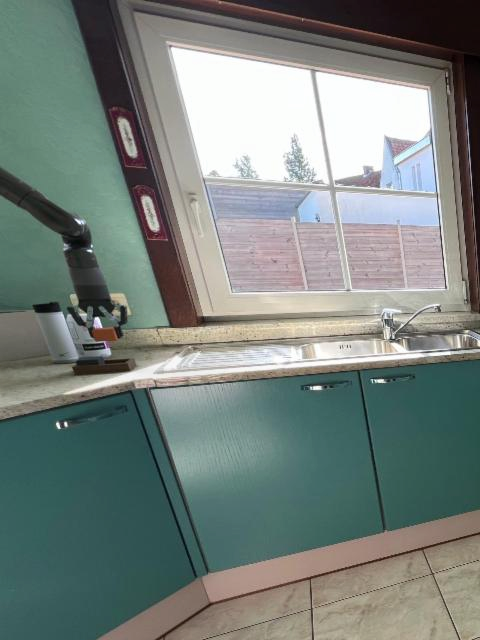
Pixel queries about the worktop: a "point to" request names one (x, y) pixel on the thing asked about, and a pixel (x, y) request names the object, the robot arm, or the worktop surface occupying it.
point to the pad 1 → (90, 361)
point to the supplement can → (87, 339)
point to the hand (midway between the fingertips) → (108, 338)
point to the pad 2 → (104, 334)
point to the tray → (106, 367)
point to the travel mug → (56, 332)
